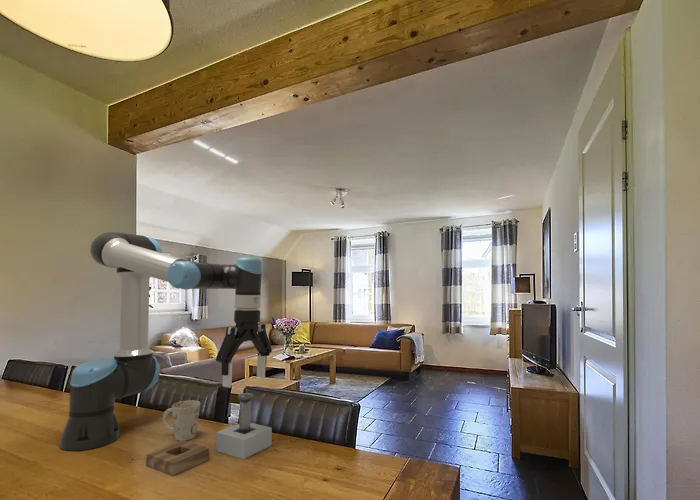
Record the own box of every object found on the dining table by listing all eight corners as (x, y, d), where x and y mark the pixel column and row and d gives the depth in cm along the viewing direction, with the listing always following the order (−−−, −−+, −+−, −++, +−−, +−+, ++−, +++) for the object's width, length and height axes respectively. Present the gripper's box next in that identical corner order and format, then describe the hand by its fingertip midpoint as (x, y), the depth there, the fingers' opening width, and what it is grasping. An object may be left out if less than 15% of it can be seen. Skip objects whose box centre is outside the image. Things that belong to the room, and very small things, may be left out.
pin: (233, 449, 115) (235, 395, 116) (244, 444, 118) (245, 392, 120) (244, 452, 112) (245, 397, 114) (254, 446, 116) (255, 394, 118)
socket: (216, 450, 113) (216, 432, 114) (244, 438, 123) (244, 421, 123) (243, 459, 108) (244, 439, 108) (271, 445, 117) (271, 427, 118)
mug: (189, 443, 119) (190, 408, 120) (152, 440, 121) (153, 406, 122) (204, 433, 127) (205, 401, 128) (169, 430, 129) (171, 398, 130)
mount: (146, 465, 104) (146, 453, 104) (182, 450, 113) (183, 440, 114) (172, 475, 98) (173, 463, 98) (208, 459, 108) (209, 447, 108)
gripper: (223, 312, 106) (220, 393, 105) (284, 308, 128) (282, 375, 126) (204, 310, 110) (201, 389, 108) (266, 307, 132) (264, 372, 130)
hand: (244, 382), depth 117 cm, fingers open, 13 cm apart
